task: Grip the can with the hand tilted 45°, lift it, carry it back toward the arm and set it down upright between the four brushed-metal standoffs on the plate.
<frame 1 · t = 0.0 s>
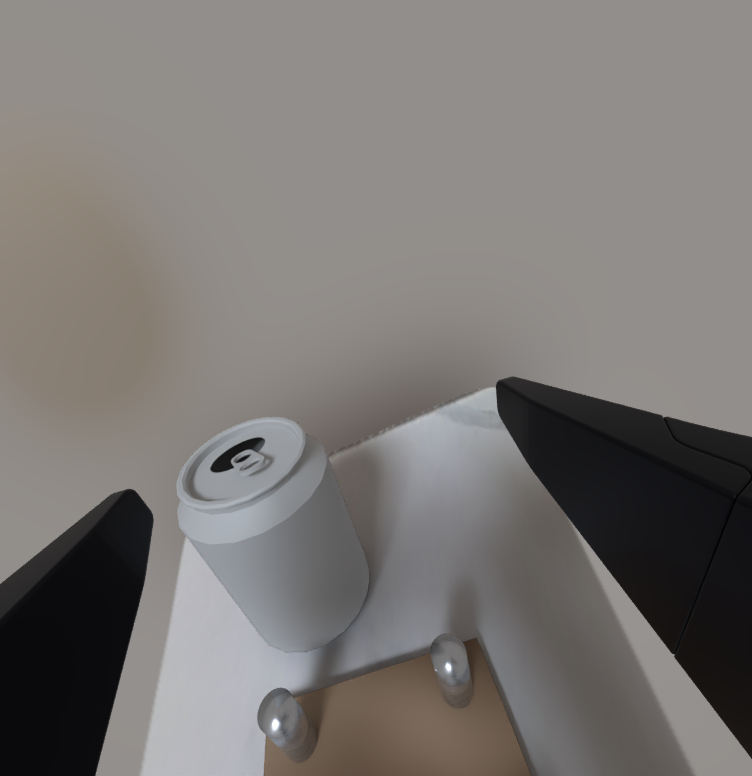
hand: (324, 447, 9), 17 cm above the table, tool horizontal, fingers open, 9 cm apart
can: (316, 595, 24), on the table
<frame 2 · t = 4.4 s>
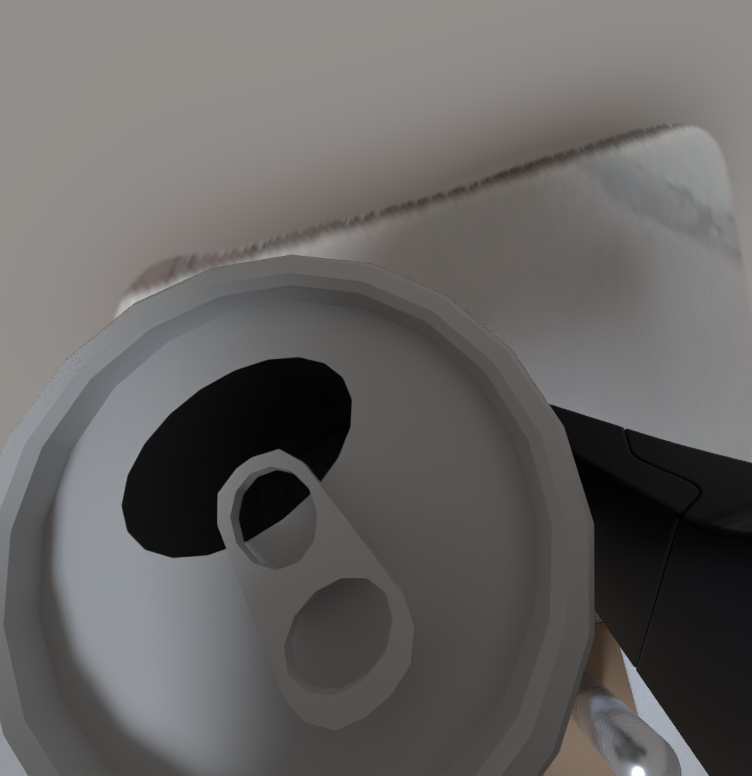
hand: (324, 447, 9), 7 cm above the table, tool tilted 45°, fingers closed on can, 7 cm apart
can: (358, 497, 15), on the table, touching gripper
when the fingers open (8 cm above the table, at t = 9.3 s): can drops 1 cm, resting on standoff plate.
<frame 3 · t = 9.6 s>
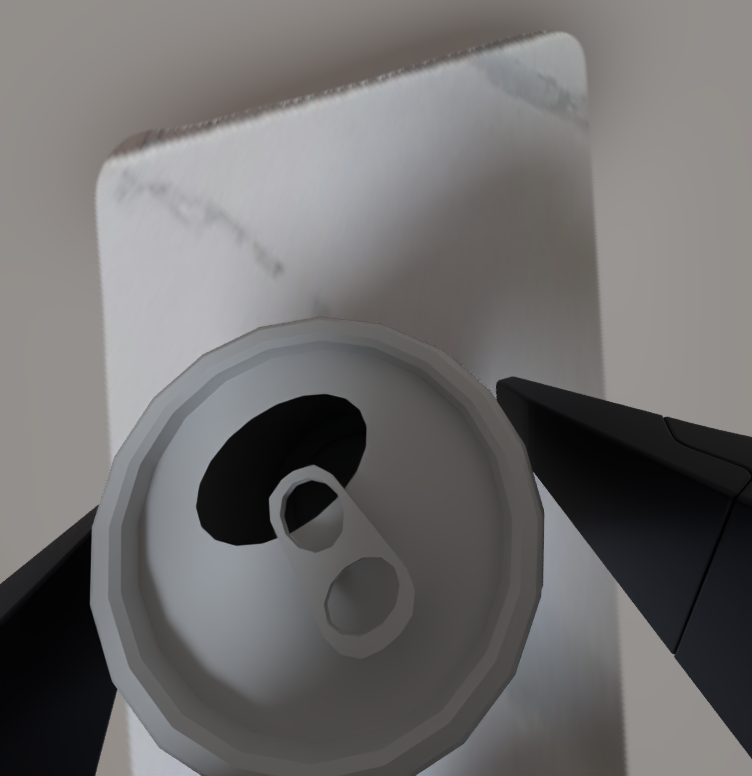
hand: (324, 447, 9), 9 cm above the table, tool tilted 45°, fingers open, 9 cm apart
can: (361, 500, 17), resting on standoff plate
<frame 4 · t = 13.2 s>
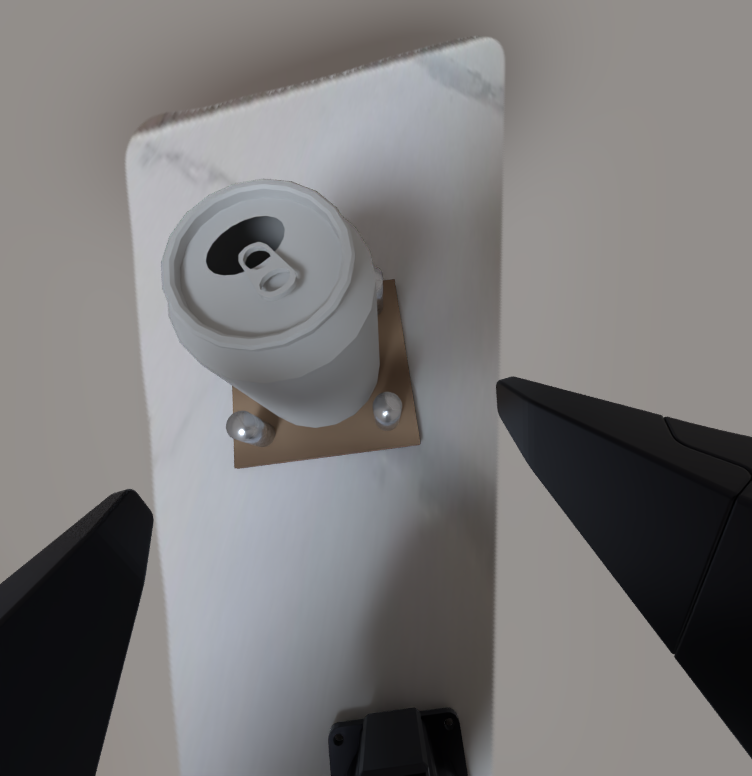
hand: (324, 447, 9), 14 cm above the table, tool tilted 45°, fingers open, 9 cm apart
standoff plate: (321, 370, 24), on the table
can: (320, 371, 23), resting on standoff plate
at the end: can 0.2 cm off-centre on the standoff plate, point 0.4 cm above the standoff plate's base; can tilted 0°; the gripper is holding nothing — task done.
